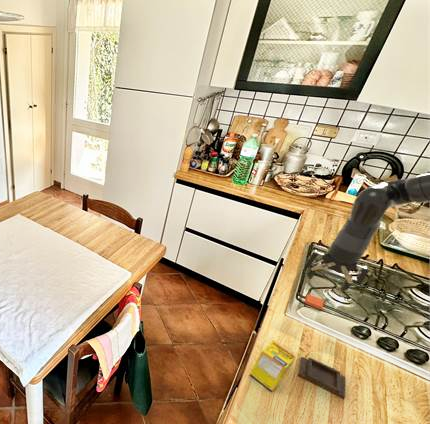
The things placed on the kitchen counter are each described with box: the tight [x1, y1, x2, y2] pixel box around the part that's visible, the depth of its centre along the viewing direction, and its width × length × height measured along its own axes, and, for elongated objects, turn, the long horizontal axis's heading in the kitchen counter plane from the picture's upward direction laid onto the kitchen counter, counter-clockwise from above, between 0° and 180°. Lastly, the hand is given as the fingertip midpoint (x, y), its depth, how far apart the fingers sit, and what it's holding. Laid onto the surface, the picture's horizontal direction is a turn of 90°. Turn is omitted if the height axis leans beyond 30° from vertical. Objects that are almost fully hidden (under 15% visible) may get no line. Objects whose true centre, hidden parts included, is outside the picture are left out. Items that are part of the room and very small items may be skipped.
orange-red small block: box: [304, 293, 324, 311], centre depth 106 cm, size 5×5×3 cm
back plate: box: [297, 356, 346, 400], centre depth 85 cm, size 10×7×2 cm
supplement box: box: [249, 340, 297, 393], centre depth 82 cm, size 6×6×11 cm
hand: (325, 283), depth 102 cm, fingers open, 8 cm apart
